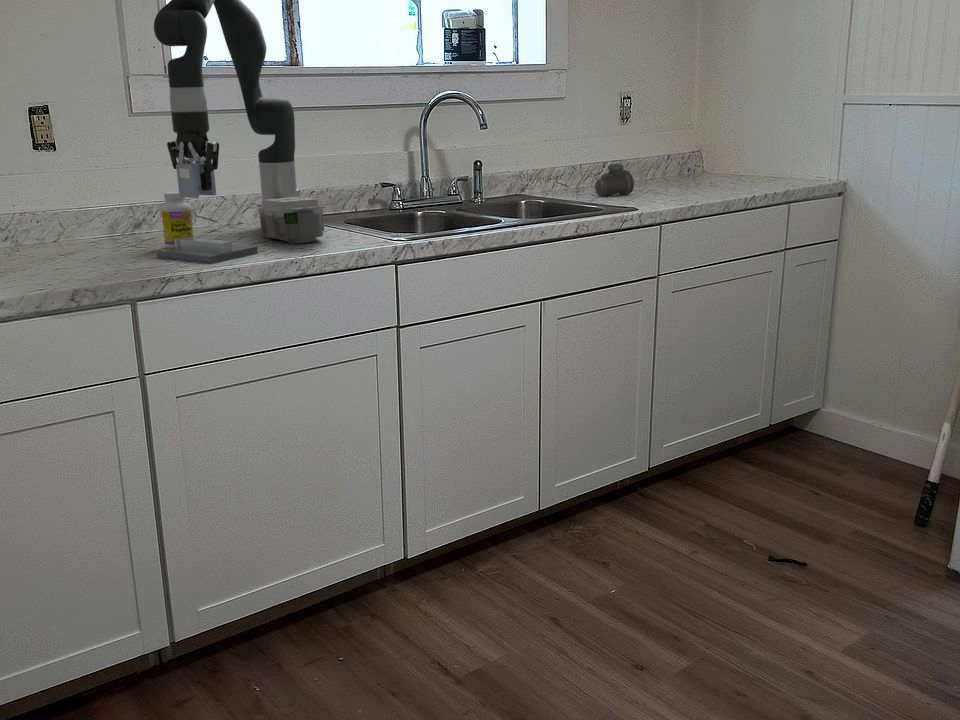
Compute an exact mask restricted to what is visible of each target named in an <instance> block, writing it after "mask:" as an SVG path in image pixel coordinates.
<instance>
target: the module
mask: <svg viewBox="0 0 960 720" xmlns="http://www.w3.org/2000/svg"><path fill="white" fill-rule="evenodd" d="M211 164H212V162H211ZM203 165H204V167H205V164H204V163H203ZM175 170H176V176H177V177H176V178H177V185H178V186H177V187H178V192H179V196H180V197H185V199H187V198H188V199H189V198H191V199H199V198H200V196H217V188H216V178H215V170H213V171H212V172H211V181H212V182H211V183H212V187H211V190H207V191H203V190H202V189H201V177H200V174H201V172H200V170H199V164H197V163H195V162H192V163H187V162H186V163H185V164H176V169H175Z"/></svg>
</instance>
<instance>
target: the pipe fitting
mask: <svg viewBox="0 0 960 720" xmlns="http://www.w3.org/2000/svg"><path fill="white" fill-rule="evenodd" d="M607 170H608V172H606V173H602V174H601V176H600V178H599V179H597V180H596V182H595V184H594V190H595V193H596V195H597V196H598V197H600V198H603V197H604V198H605V197H609V196H612V195H616V194H619V195H622V196H625V195H630V194H631V193H633V190H634V187H635V186H634V185H635V181H634V177H633V175H632V173H631V172H630V171H629V170H625V168H624V165H623V164H621V163H613V164H610V165H608V166H607Z"/></svg>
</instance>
